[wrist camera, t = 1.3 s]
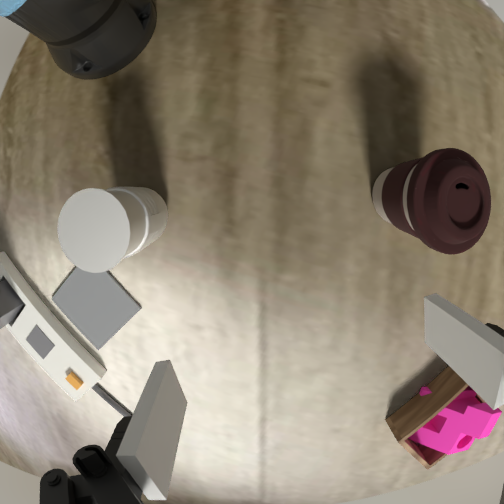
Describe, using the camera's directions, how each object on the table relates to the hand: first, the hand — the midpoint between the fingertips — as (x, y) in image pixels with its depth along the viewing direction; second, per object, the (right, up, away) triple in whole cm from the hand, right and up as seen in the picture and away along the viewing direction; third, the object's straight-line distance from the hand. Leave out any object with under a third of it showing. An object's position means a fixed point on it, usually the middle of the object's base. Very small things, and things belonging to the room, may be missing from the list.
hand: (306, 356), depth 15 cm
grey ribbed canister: (-15, +10, +23) cm, 30 cm away
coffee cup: (+16, +12, +24) cm, 31 cm away
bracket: (+30, -23, +31) cm, 49 cm away
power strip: (-30, -11, +27) cm, 42 cm away
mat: (-24, -2, +25) cm, 35 cm away
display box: (+30, -23, +31) cm, 48 cm away
